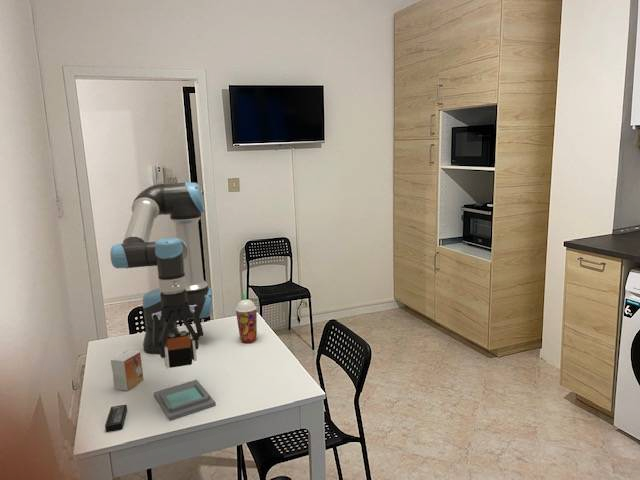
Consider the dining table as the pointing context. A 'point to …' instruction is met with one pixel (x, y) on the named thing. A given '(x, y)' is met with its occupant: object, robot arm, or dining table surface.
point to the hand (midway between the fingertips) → (180, 363)
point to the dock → (183, 399)
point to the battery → (179, 349)
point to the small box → (127, 370)
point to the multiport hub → (116, 418)
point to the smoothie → (247, 320)
